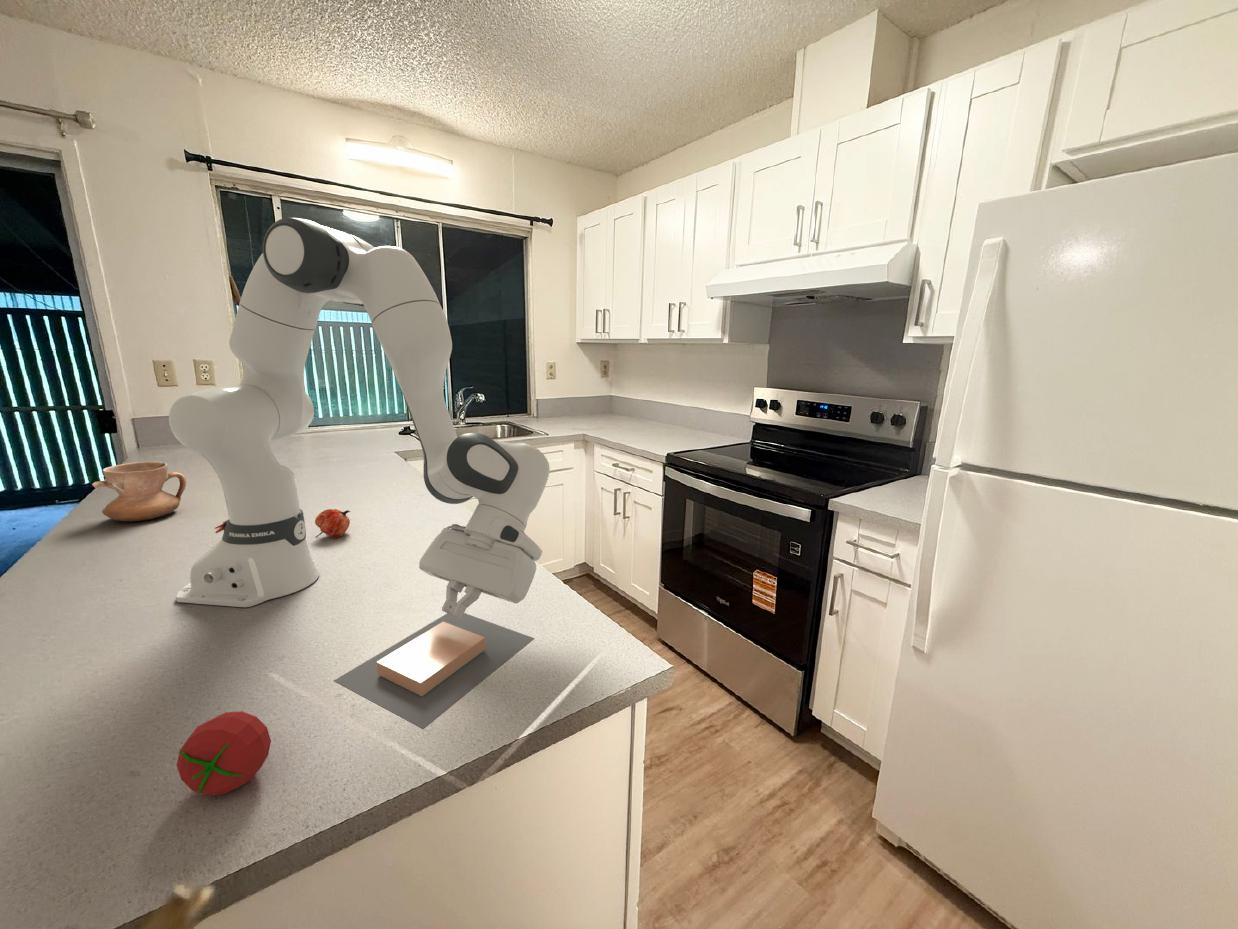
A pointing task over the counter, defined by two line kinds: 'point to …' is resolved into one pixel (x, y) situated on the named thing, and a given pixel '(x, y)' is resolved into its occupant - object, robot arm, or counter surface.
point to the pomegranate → (332, 522)
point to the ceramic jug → (140, 491)
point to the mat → (449, 691)
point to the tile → (431, 658)
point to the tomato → (223, 753)
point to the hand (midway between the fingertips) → (450, 614)
